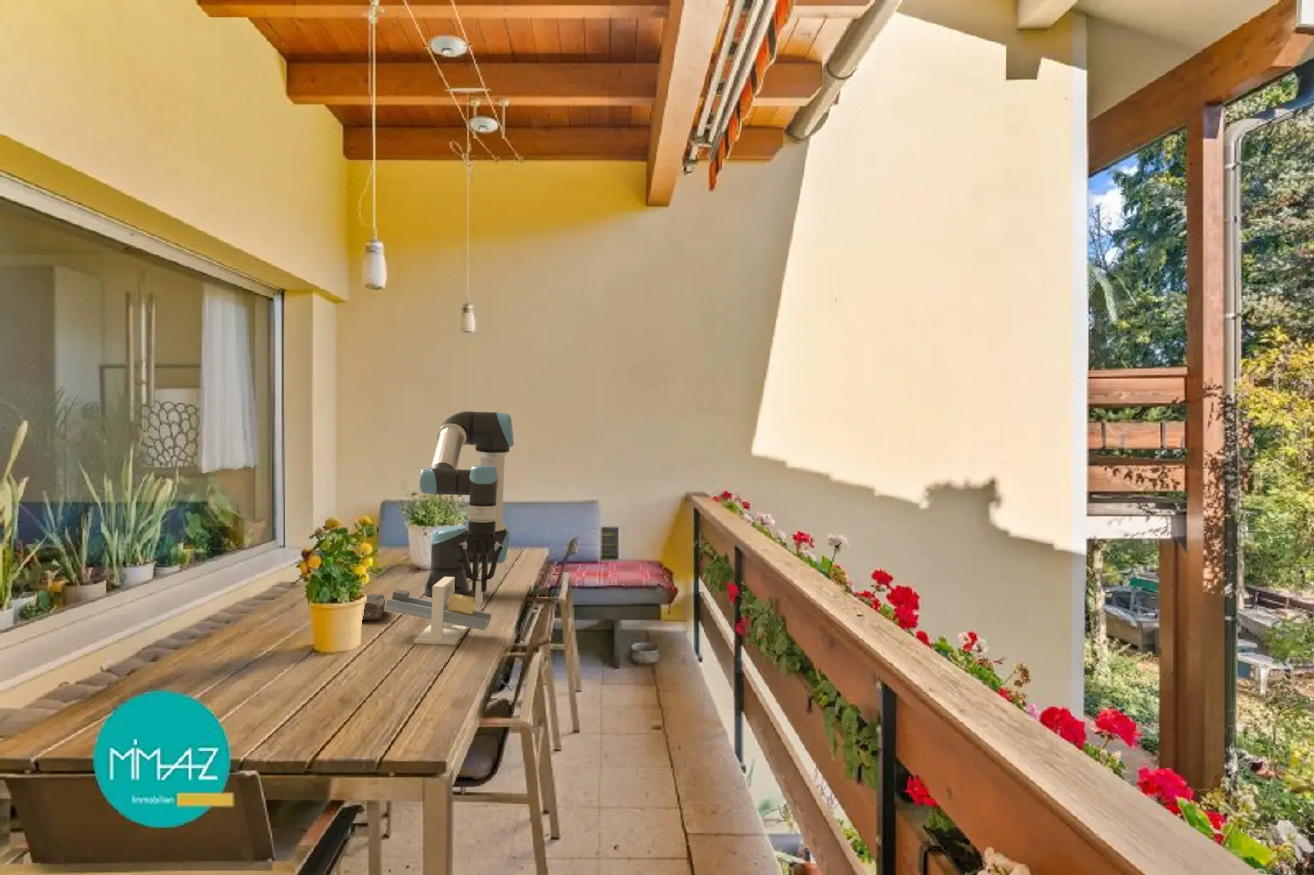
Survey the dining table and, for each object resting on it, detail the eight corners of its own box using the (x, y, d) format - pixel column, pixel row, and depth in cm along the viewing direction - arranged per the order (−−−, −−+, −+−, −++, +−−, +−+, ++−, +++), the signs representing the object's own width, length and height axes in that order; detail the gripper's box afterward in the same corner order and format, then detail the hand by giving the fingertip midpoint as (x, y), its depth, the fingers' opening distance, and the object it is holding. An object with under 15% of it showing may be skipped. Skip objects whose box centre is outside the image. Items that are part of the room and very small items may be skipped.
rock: (351, 610, 217) (334, 625, 202) (351, 590, 216) (334, 603, 201) (392, 609, 218) (378, 624, 203) (392, 589, 218) (378, 603, 203)
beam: (394, 602, 197) (400, 576, 197) (490, 622, 199) (495, 596, 198) (383, 610, 189) (389, 582, 189) (483, 631, 190) (489, 603, 190)
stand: (429, 628, 201) (431, 575, 200) (467, 629, 201) (469, 576, 201) (414, 643, 187) (416, 586, 186) (455, 644, 187) (457, 588, 187)
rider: (449, 612, 196) (453, 593, 196) (473, 617, 196) (477, 598, 196) (445, 615, 192) (450, 596, 192) (470, 620, 192) (474, 601, 192)
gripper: (455, 521, 190) (452, 605, 190) (502, 522, 190) (499, 607, 191) (462, 517, 197) (458, 599, 198) (507, 519, 198) (504, 600, 198)
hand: (478, 603), depth 194 cm, fingers closed
